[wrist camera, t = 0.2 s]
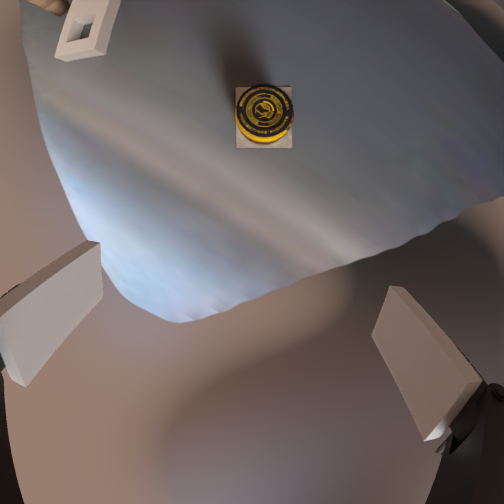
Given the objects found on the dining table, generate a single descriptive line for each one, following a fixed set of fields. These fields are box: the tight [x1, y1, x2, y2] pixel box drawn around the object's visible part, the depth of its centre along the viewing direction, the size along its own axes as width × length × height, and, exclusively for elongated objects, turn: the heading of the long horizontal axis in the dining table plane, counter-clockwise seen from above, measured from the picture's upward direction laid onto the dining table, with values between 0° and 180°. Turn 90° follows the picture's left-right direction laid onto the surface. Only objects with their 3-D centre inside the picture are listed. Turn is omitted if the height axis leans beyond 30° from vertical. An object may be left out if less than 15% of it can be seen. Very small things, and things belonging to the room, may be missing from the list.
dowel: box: [27, 0, 70, 16], centre depth 22 cm, size 3×3×10 cm
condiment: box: [234, 84, 294, 148], centre depth 29 cm, size 7×8×12 cm
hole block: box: [54, 0, 121, 62], centre depth 26 cm, size 18×8×4 cm, turn 172°
